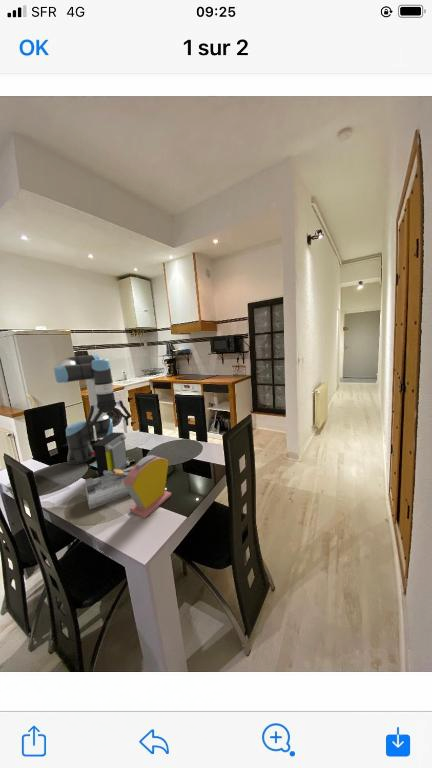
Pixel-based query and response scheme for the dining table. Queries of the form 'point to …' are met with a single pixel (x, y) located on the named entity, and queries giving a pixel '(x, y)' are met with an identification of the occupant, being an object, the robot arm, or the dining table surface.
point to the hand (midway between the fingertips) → (111, 436)
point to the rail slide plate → (107, 490)
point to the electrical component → (110, 453)
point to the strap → (116, 473)
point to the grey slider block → (92, 484)
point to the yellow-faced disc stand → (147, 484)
